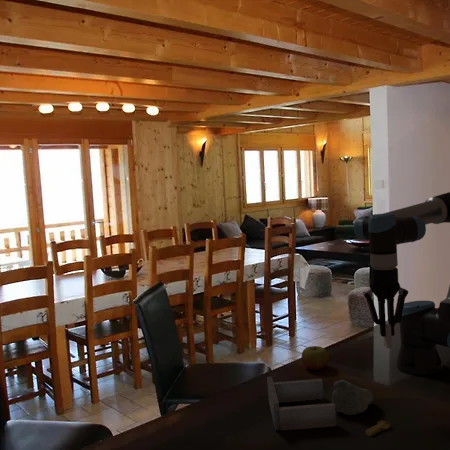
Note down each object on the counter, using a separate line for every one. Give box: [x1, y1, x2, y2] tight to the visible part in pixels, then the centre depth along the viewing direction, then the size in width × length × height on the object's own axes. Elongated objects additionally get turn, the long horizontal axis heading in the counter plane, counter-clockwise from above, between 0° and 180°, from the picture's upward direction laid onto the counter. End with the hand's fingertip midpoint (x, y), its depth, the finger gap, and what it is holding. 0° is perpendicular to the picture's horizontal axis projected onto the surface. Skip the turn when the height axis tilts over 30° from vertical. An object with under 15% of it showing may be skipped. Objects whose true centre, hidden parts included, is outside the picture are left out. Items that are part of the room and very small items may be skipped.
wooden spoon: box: [365, 420, 390, 437], centre depth 138 cm, size 8×3×1 cm, turn 126°
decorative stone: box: [331, 379, 374, 416], centre depth 151 cm, size 13×11×10 cm
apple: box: [301, 345, 330, 371], centre depth 185 cm, size 10×10×8 cm
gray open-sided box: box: [266, 376, 337, 432], centre depth 151 cm, size 17×19×8 cm
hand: (387, 346), depth 150 cm, fingers closed
